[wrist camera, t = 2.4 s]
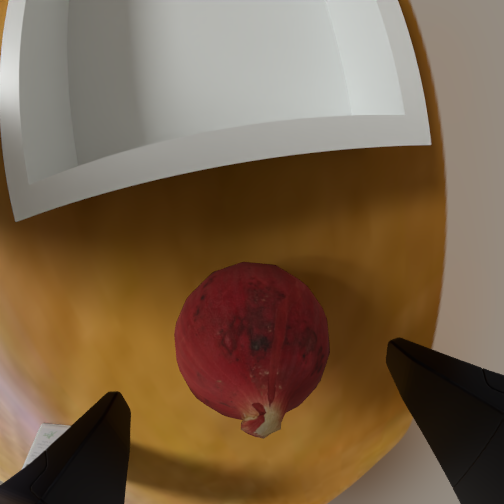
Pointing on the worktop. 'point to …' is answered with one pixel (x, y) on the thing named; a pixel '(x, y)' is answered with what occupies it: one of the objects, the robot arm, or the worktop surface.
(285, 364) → the onion
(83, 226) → the worktop surface
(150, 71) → the tote
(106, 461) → the robot arm
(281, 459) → the worktop surface
